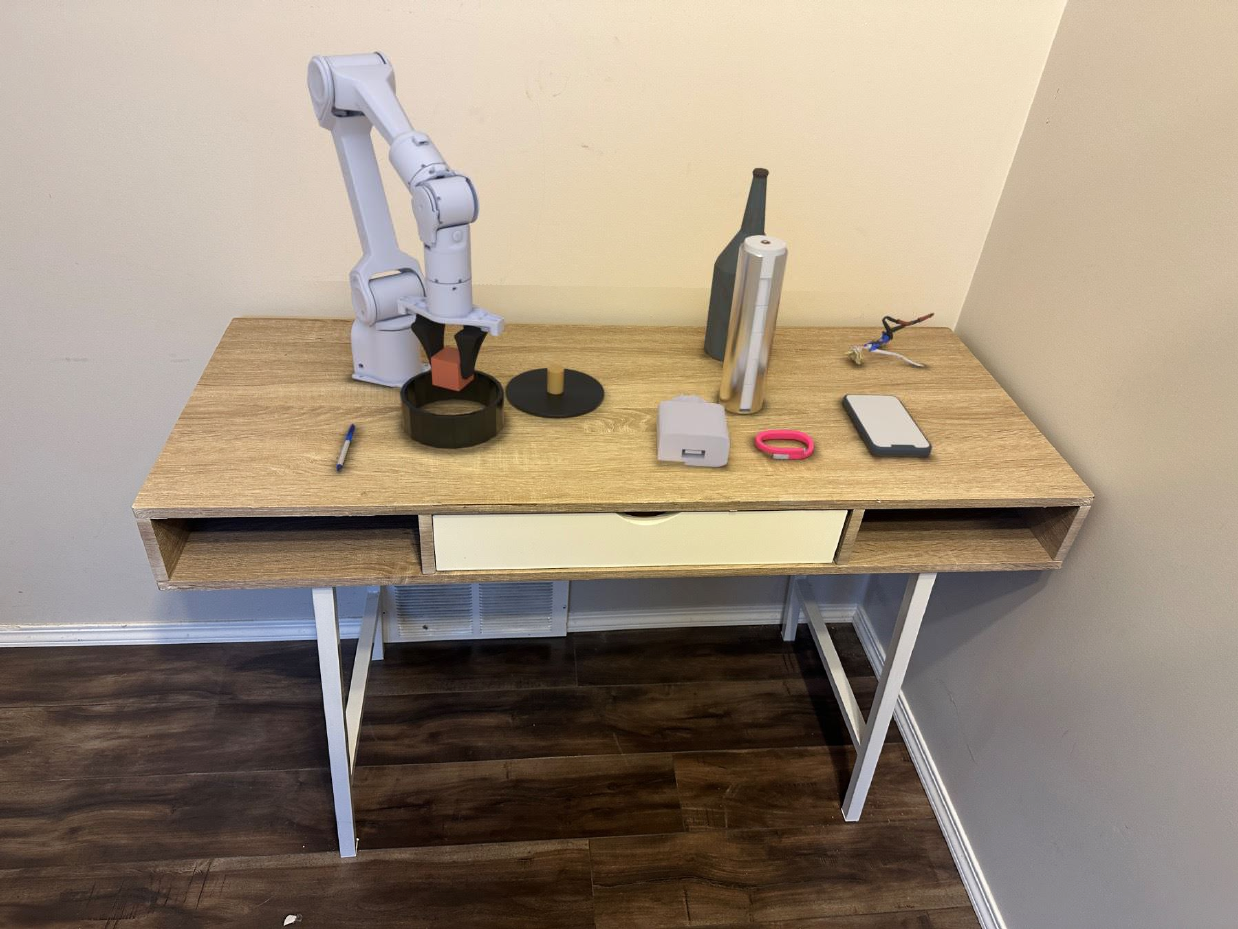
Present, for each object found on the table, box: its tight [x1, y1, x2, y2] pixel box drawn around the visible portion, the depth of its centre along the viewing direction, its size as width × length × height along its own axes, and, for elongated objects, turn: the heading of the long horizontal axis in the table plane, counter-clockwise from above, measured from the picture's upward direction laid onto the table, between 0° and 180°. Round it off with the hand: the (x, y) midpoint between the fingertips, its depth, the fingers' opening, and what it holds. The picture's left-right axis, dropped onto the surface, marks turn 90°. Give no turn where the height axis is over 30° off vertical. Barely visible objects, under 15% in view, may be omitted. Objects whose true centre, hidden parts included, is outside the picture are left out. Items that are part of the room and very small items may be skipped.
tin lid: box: [505, 364, 605, 419], centre depth 131 cm, size 14×14×5 cm
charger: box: [655, 392, 731, 468], centre depth 124 cm, size 5×9×15 cm
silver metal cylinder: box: [718, 235, 789, 415], centre depth 127 cm, size 6×6×25 cm
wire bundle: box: [844, 312, 935, 368], centre depth 150 cm, size 10×9×20 cm
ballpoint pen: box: [336, 423, 356, 472], centre depth 117 cm, size 10×1×1 cm, turn 5°
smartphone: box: [842, 393, 933, 458], centre depth 130 cm, size 9×2×16 cm
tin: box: [399, 369, 505, 450], centre depth 123 cm, size 14×14×5 cm
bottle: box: [703, 167, 770, 363], centre depth 140 cm, size 10×10×30 cm
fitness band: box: [754, 429, 815, 460], centre depth 124 cm, size 8×6×2 cm
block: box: [431, 345, 474, 391], centre depth 120 cm, size 4×4×4 cm
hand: (453, 372), depth 120 cm, fingers closed on block, 4 cm apart
